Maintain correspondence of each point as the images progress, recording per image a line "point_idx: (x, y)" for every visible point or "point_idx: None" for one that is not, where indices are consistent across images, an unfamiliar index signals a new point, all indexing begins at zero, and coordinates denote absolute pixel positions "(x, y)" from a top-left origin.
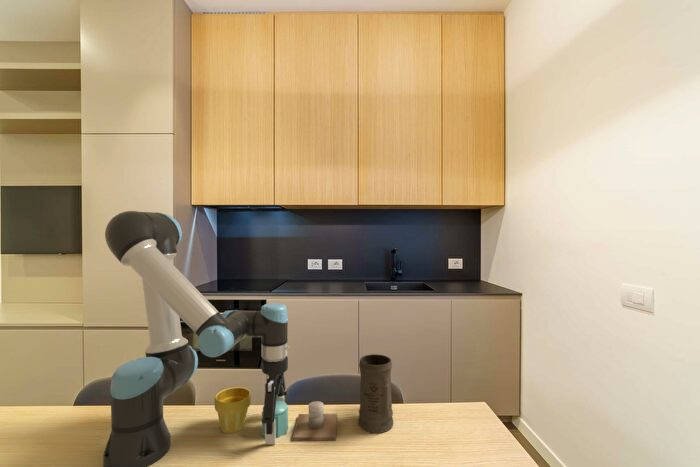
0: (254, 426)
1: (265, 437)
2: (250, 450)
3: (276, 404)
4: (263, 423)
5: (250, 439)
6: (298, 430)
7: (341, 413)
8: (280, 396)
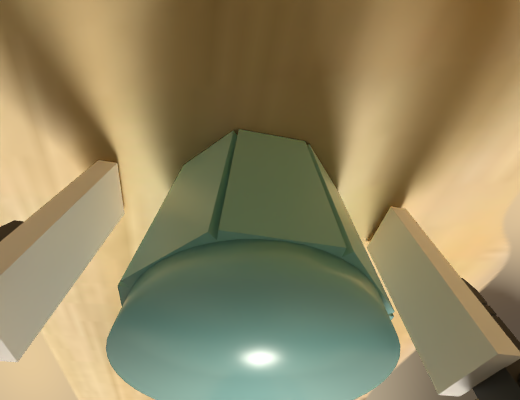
0: (352, 58)
1: (72, 186)
2: (19, 57)
3: (302, 376)
4: (202, 183)
5: (162, 40)
6: None
7: None
8: (481, 380)
